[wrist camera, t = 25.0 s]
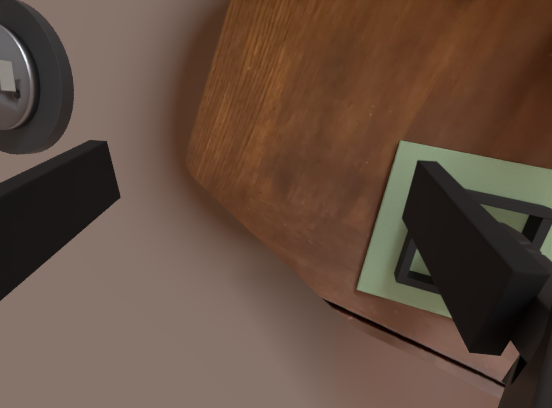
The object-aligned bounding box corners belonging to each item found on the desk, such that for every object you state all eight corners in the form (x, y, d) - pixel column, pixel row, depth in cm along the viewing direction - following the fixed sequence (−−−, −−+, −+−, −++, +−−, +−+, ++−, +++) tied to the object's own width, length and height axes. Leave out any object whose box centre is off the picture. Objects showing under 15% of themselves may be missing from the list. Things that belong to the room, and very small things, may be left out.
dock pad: (519, 335, 37) (533, 353, 34) (356, 287, 41) (356, 299, 38) (596, 178, 32) (622, 183, 29) (399, 140, 36) (403, 141, 33)
